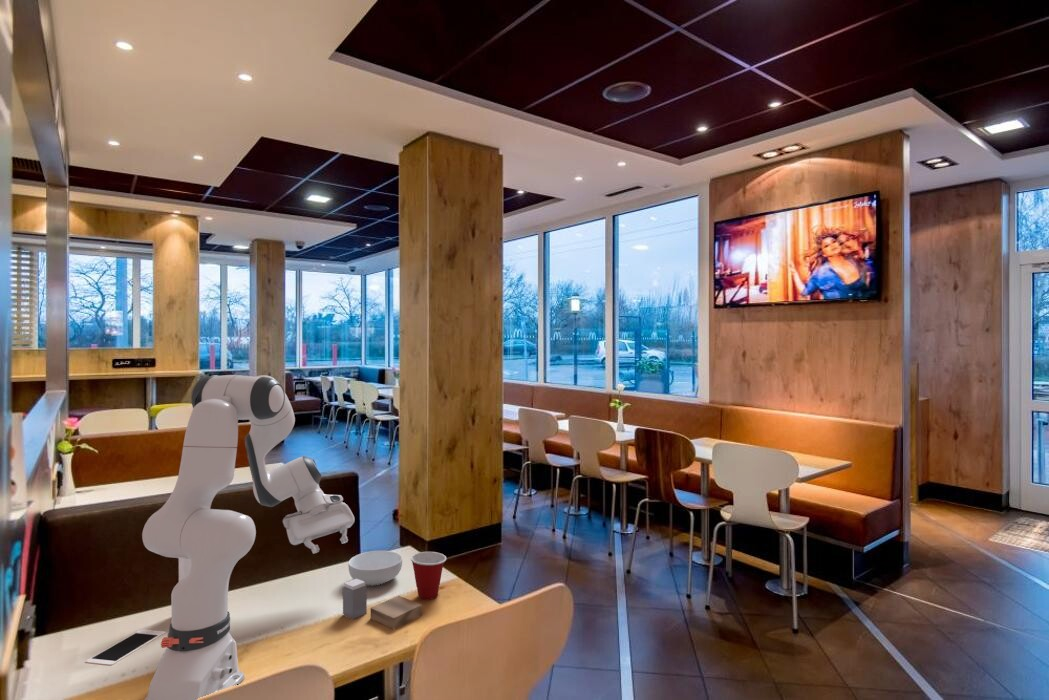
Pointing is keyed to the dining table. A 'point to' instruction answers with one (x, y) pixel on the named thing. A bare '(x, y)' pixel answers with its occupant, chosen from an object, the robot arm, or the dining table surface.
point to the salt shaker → (354, 598)
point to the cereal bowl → (375, 567)
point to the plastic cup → (428, 573)
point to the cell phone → (125, 647)
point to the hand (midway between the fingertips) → (331, 547)
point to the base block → (396, 612)
